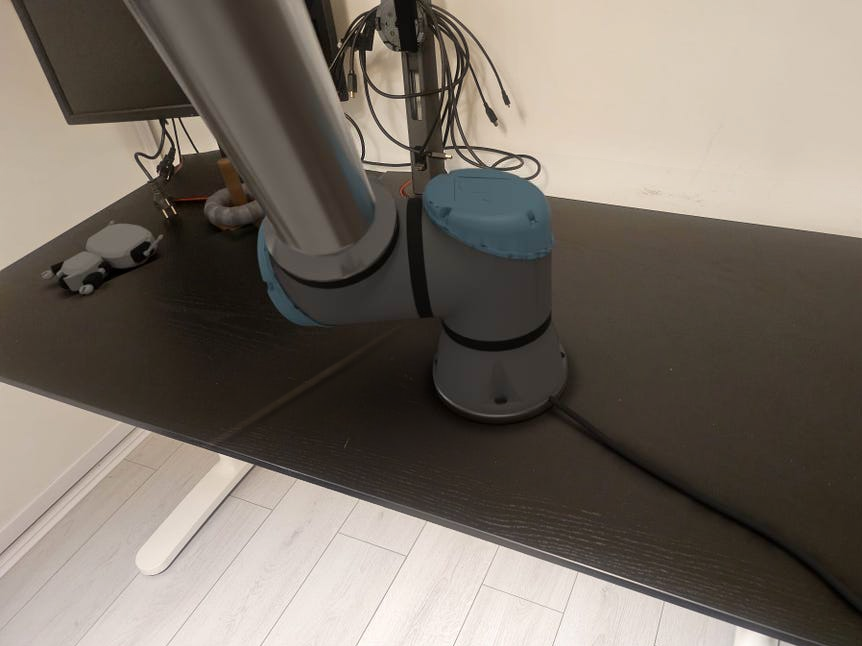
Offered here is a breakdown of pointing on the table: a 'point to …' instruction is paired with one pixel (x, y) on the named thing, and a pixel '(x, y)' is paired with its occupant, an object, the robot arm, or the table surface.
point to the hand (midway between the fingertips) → (367, 65)
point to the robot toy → (104, 257)
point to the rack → (233, 190)
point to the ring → (232, 209)
